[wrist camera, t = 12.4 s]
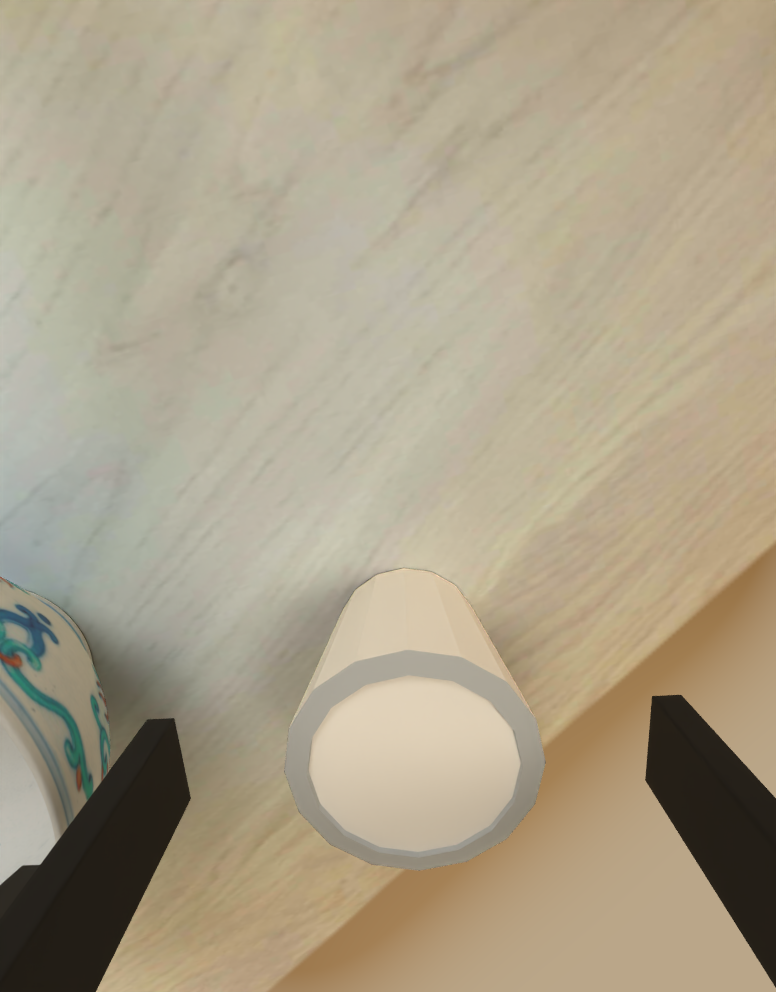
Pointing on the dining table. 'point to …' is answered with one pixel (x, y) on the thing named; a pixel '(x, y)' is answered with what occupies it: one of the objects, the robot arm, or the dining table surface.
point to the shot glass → (413, 730)
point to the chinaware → (45, 726)
